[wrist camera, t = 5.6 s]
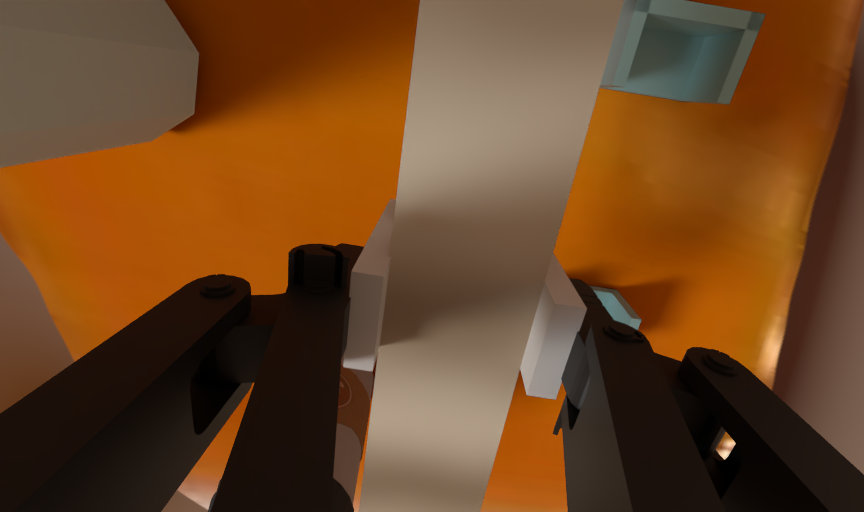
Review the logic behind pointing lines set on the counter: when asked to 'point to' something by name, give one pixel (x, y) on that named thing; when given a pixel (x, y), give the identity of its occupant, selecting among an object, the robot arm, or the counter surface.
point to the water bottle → (90, 76)
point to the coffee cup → (348, 435)
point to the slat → (475, 234)
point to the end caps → (676, 67)
